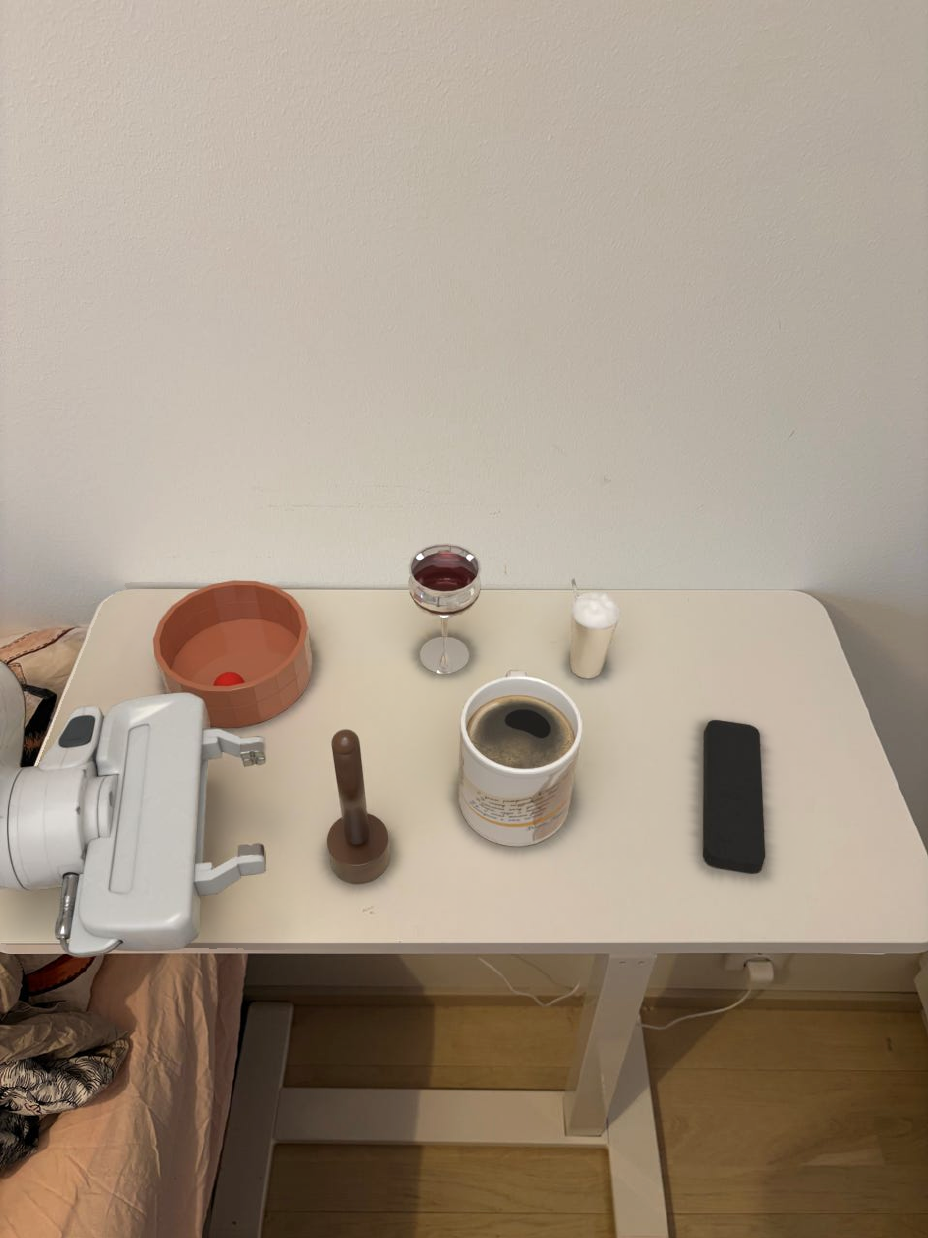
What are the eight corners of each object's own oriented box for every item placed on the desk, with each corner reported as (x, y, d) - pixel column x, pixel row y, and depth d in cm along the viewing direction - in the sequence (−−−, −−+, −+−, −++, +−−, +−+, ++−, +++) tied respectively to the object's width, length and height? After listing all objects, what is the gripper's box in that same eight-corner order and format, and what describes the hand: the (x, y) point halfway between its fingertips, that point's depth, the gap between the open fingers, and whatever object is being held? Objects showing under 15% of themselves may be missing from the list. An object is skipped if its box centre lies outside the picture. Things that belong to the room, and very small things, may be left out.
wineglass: (468, 625, 97) (471, 538, 88) (486, 673, 92) (490, 586, 84) (404, 636, 95) (400, 549, 87) (419, 686, 91) (416, 599, 82)
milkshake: (577, 638, 96) (588, 567, 88) (618, 667, 93) (632, 596, 86) (547, 661, 93) (556, 590, 86) (588, 691, 91) (601, 621, 84)
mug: (429, 802, 82) (428, 725, 74) (508, 716, 89) (515, 637, 81) (528, 868, 78) (538, 794, 70) (603, 773, 84) (620, 696, 76)
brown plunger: (336, 891, 76) (315, 771, 64) (324, 839, 79) (303, 715, 67) (396, 875, 77) (387, 754, 65) (382, 824, 80) (371, 700, 68)
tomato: (213, 706, 86) (213, 673, 86) (212, 703, 89) (211, 671, 89) (247, 704, 87) (246, 672, 87) (245, 701, 90) (244, 670, 90)
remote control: (761, 878, 78) (756, 732, 88) (766, 868, 76) (761, 721, 86) (701, 868, 78) (703, 724, 88) (705, 858, 77) (707, 713, 87)
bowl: (171, 742, 86) (158, 705, 82) (161, 633, 95) (148, 595, 91) (324, 709, 89) (318, 672, 85) (299, 607, 98) (293, 569, 94)
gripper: (34, 939, 59) (258, 911, 60) (80, 689, 73) (260, 672, 74) (64, 981, 63) (271, 954, 65) (101, 738, 77) (270, 721, 79)
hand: (265, 801), depth 69 cm, fingers open, 8 cm apart
